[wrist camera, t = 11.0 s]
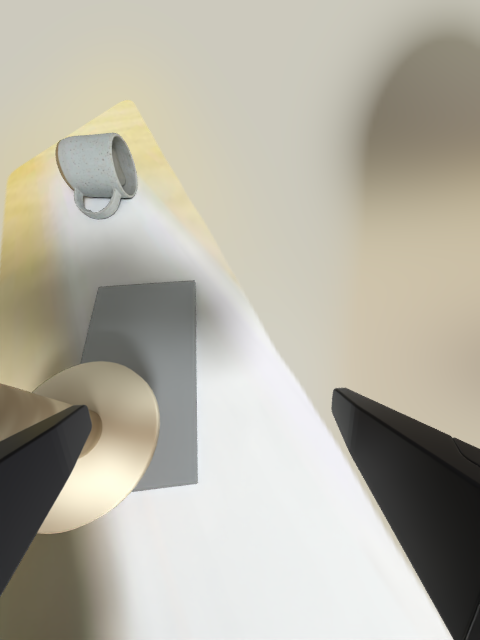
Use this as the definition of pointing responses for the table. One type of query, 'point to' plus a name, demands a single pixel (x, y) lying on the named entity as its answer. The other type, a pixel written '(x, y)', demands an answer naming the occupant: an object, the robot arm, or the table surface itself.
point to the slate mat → (155, 365)
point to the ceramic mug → (97, 169)
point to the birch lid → (92, 435)
